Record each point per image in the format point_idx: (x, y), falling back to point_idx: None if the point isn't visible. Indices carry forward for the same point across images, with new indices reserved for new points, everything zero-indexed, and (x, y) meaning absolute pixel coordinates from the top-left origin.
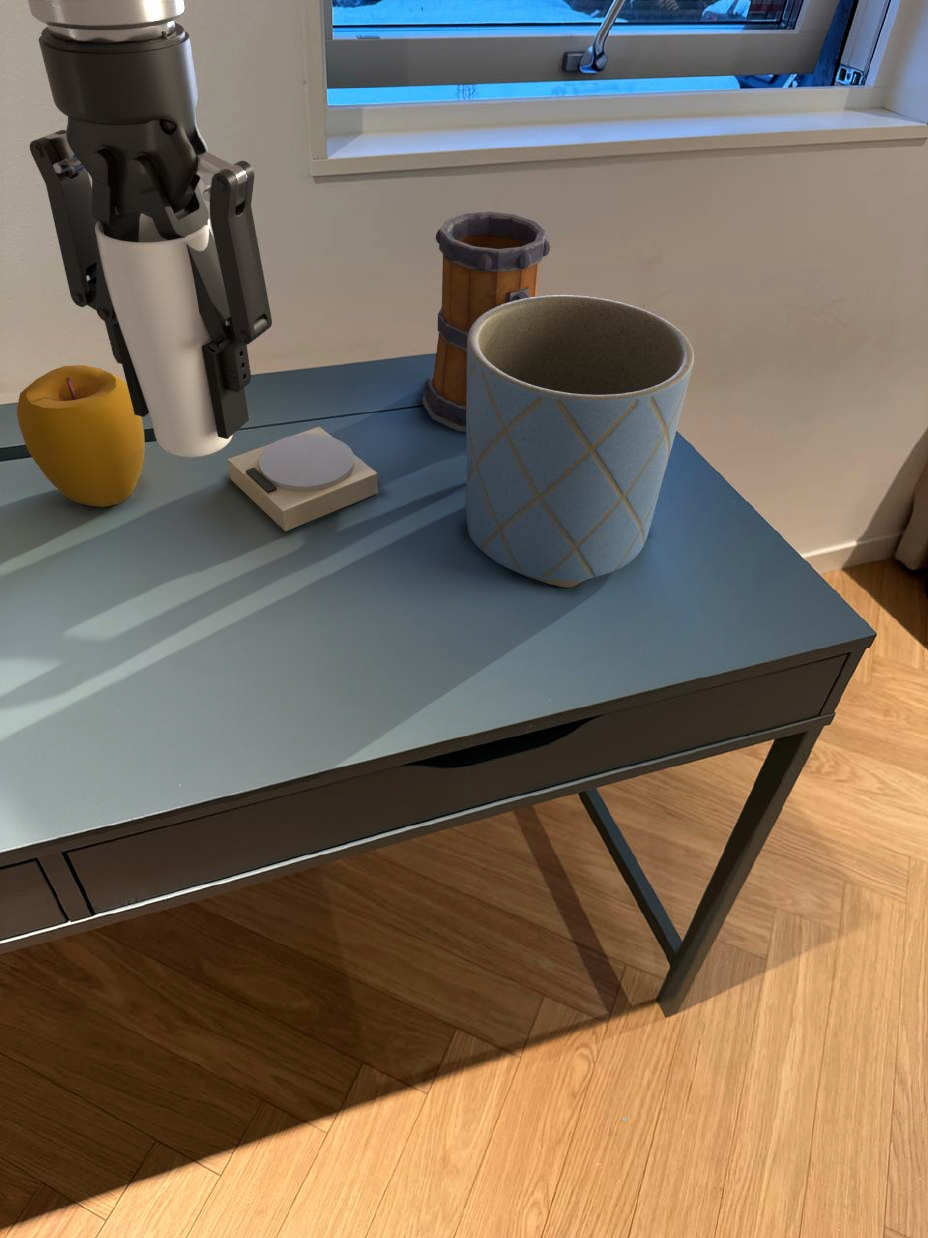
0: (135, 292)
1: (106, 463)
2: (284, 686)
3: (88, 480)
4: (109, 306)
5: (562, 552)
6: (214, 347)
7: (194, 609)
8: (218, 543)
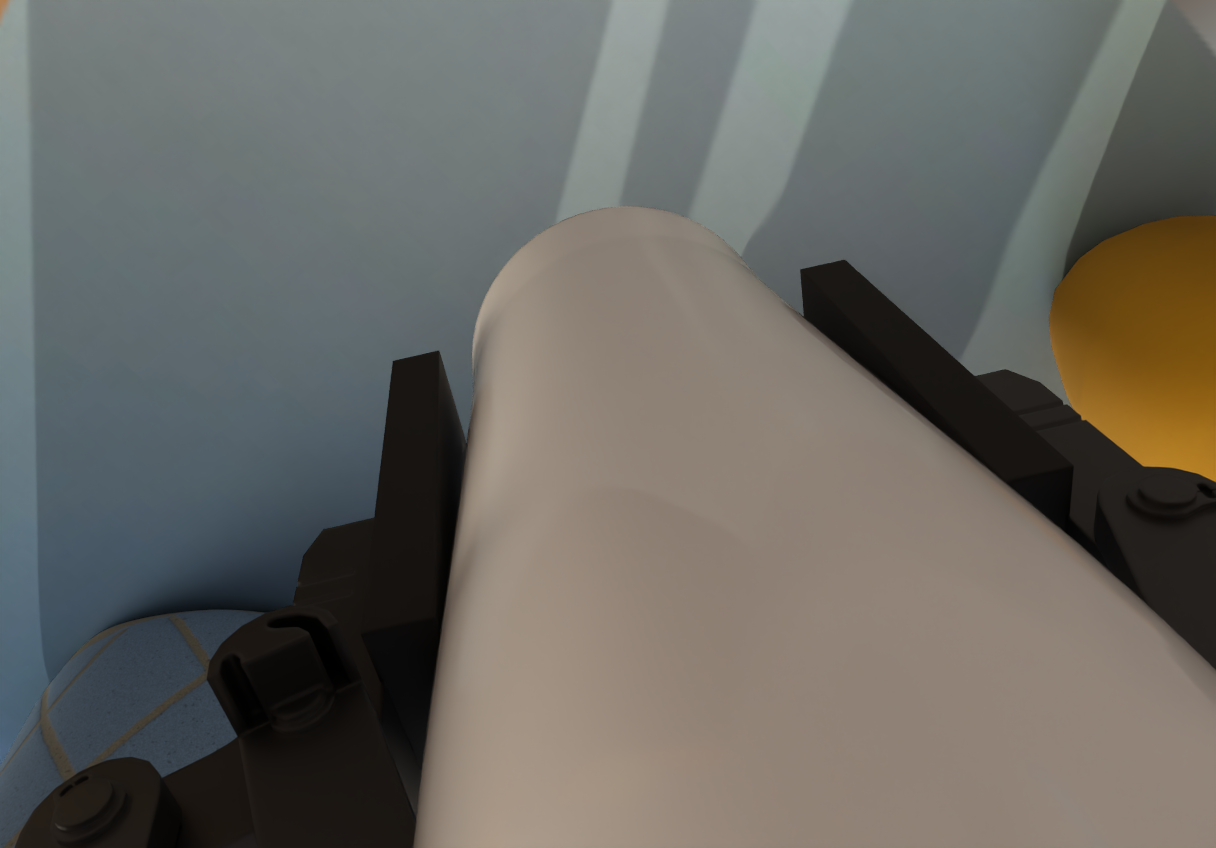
0: (759, 690)
1: (1114, 317)
2: (324, 68)
3: (1130, 262)
4: (1145, 545)
5: (67, 694)
6: (260, 641)
7: (677, 135)
8: None
